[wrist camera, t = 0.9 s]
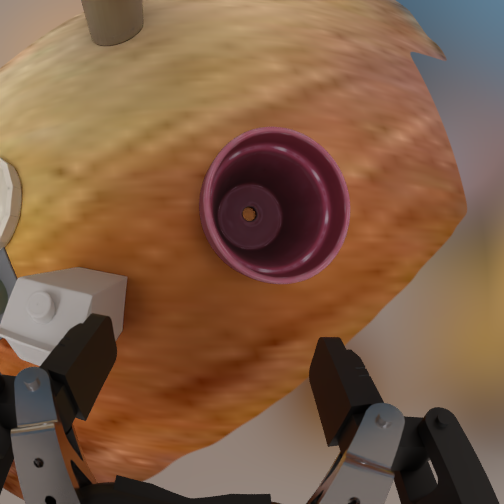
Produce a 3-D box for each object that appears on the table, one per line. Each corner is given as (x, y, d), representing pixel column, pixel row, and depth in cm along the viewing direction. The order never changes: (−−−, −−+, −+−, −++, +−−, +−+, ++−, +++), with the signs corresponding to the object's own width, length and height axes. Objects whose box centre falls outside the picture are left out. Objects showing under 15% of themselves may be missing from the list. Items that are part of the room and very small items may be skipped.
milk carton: (123, 330, 31) (76, 405, 13) (74, 319, 30) (-3, 376, 11) (128, 276, 32) (73, 304, 13) (77, 266, 30) (-10, 281, 12)
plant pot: (306, 262, 38) (362, 267, 25) (204, 283, 34) (218, 301, 22) (288, 161, 37) (335, 126, 25) (186, 171, 34) (192, 130, 21)
